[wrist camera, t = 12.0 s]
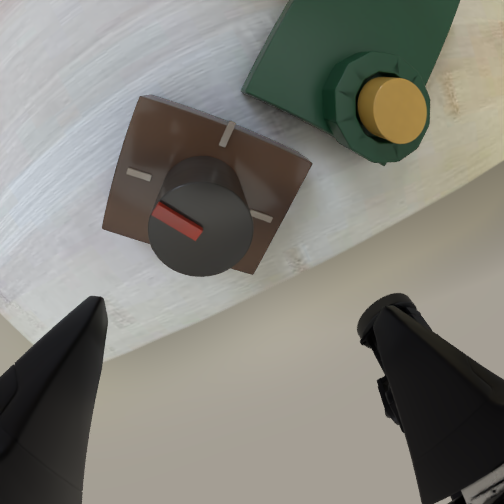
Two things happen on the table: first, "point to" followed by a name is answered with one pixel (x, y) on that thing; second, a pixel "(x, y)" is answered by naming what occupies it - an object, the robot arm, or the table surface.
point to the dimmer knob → (200, 218)
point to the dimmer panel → (200, 144)
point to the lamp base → (349, 63)
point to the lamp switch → (392, 109)
